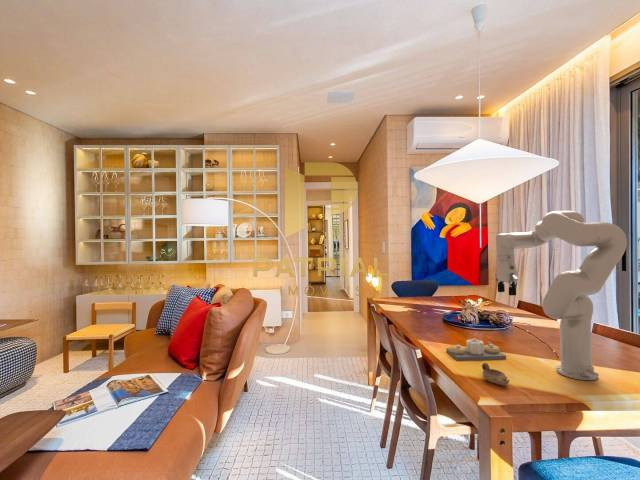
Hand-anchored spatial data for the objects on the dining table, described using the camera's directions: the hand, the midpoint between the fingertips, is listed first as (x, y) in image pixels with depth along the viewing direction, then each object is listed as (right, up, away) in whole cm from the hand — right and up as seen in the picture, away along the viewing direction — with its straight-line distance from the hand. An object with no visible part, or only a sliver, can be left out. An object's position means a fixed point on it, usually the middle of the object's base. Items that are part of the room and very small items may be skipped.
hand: (506, 293), depth 157 cm
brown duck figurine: (-26, -27, -36) cm, 52 cm away
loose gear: (-20, -25, -9) cm, 33 cm away
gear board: (-20, -27, -9) cm, 35 cm away
